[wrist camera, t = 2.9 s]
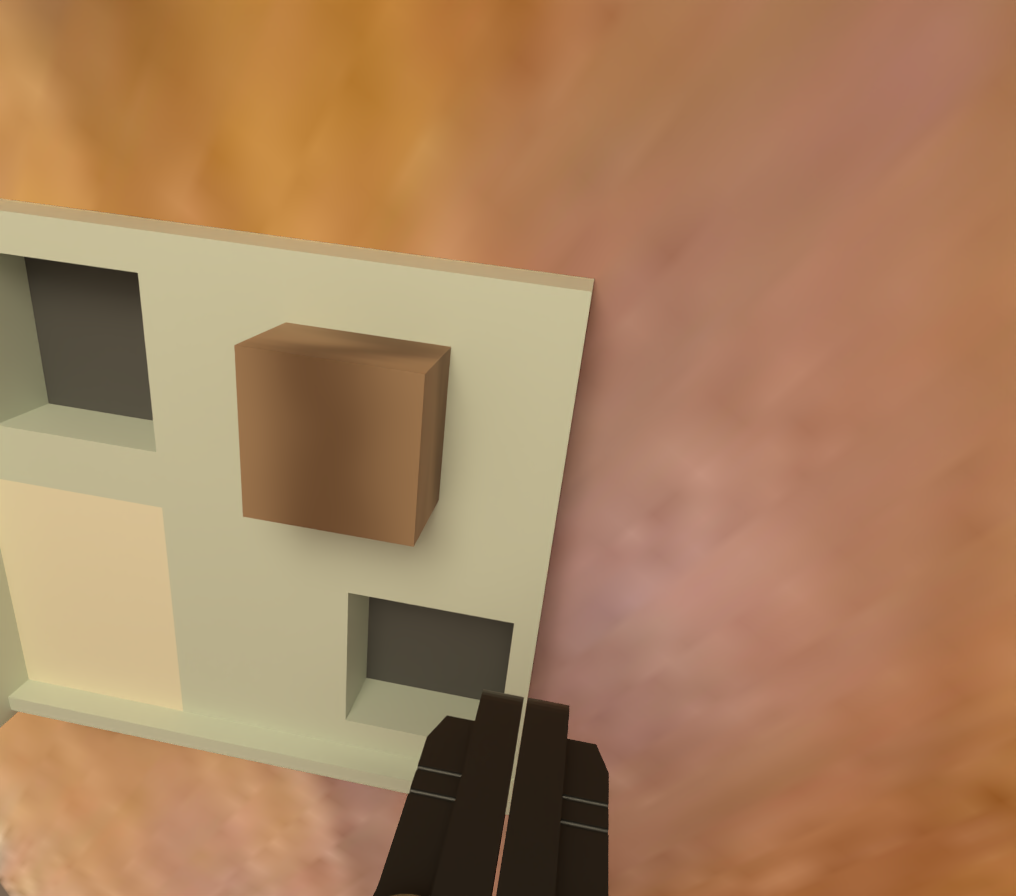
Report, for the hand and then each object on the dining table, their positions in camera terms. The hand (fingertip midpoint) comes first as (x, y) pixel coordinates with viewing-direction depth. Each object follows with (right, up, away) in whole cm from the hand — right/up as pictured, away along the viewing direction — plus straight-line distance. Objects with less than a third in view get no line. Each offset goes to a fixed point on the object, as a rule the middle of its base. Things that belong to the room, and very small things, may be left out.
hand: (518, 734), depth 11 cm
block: (-5, +6, +13) cm, 15 cm away
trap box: (-10, +3, +18) cm, 21 cm away
